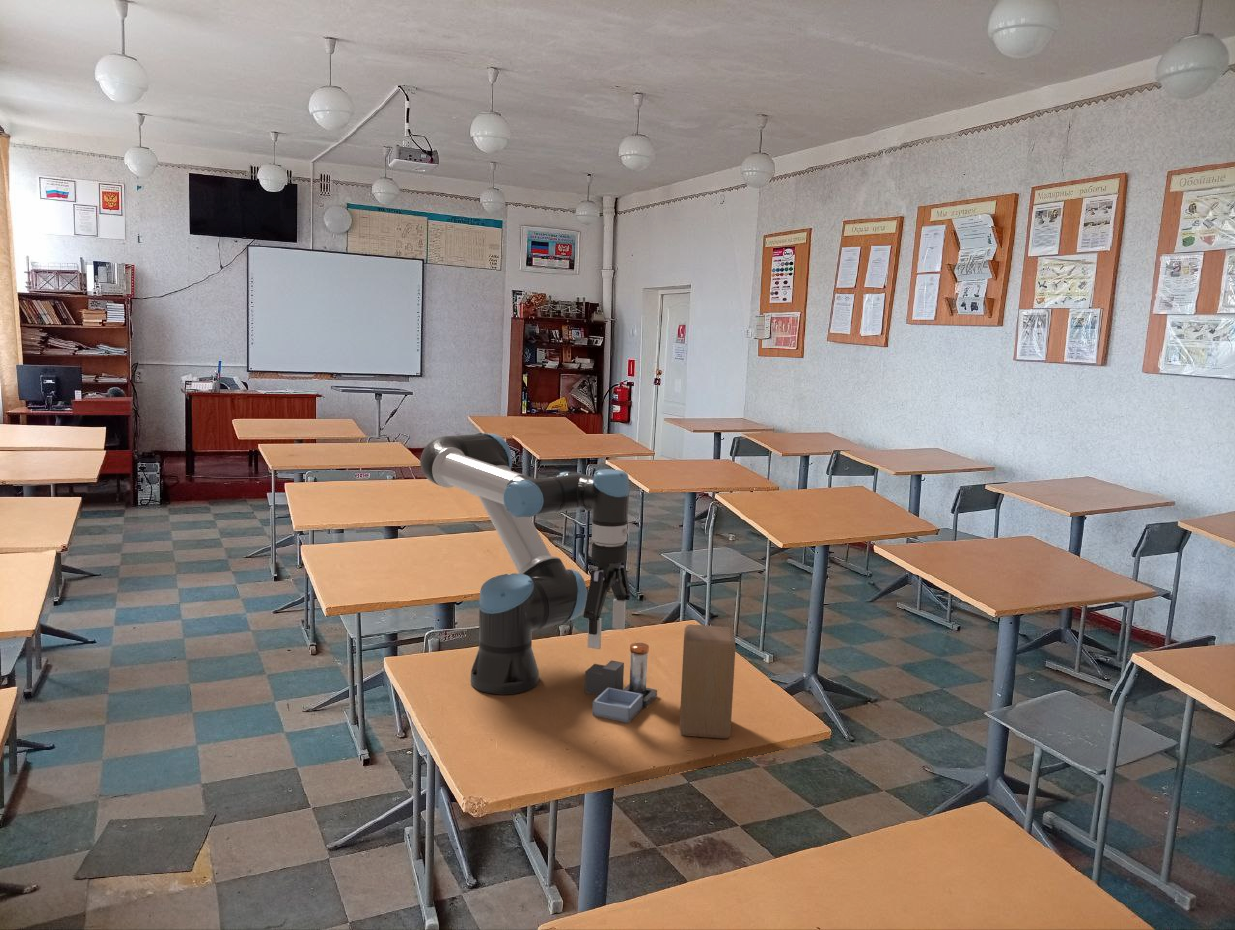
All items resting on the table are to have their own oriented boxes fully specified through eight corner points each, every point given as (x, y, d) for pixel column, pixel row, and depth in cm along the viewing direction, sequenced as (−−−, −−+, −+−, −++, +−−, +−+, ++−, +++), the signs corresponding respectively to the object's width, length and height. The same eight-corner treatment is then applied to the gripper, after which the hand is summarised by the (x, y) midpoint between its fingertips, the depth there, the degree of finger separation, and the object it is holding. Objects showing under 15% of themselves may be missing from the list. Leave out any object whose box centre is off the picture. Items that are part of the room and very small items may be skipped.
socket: (617, 702, 185) (617, 695, 185) (628, 690, 191) (628, 684, 191) (646, 708, 183) (646, 701, 183) (656, 696, 189) (657, 689, 189)
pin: (625, 701, 186) (627, 647, 184) (632, 694, 190) (634, 641, 188) (642, 704, 184) (645, 650, 183) (649, 697, 188) (651, 644, 186)
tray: (592, 715, 178) (592, 701, 178) (607, 700, 186) (607, 687, 185) (628, 722, 176) (629, 708, 175) (642, 707, 183) (643, 694, 182)
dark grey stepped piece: (584, 693, 189) (585, 664, 188) (593, 684, 194) (594, 657, 193) (614, 699, 187) (615, 670, 186) (622, 690, 191) (624, 662, 190)
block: (728, 718, 179) (734, 625, 176) (730, 741, 169) (736, 643, 166) (680, 714, 180) (685, 622, 177) (679, 736, 170) (683, 639, 167)
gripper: (602, 557, 172) (599, 659, 176) (646, 532, 195) (643, 623, 198) (568, 553, 175) (566, 653, 178) (615, 529, 198) (612, 618, 201)
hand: (606, 638), depth 188 cm, fingers open, 13 cm apart
